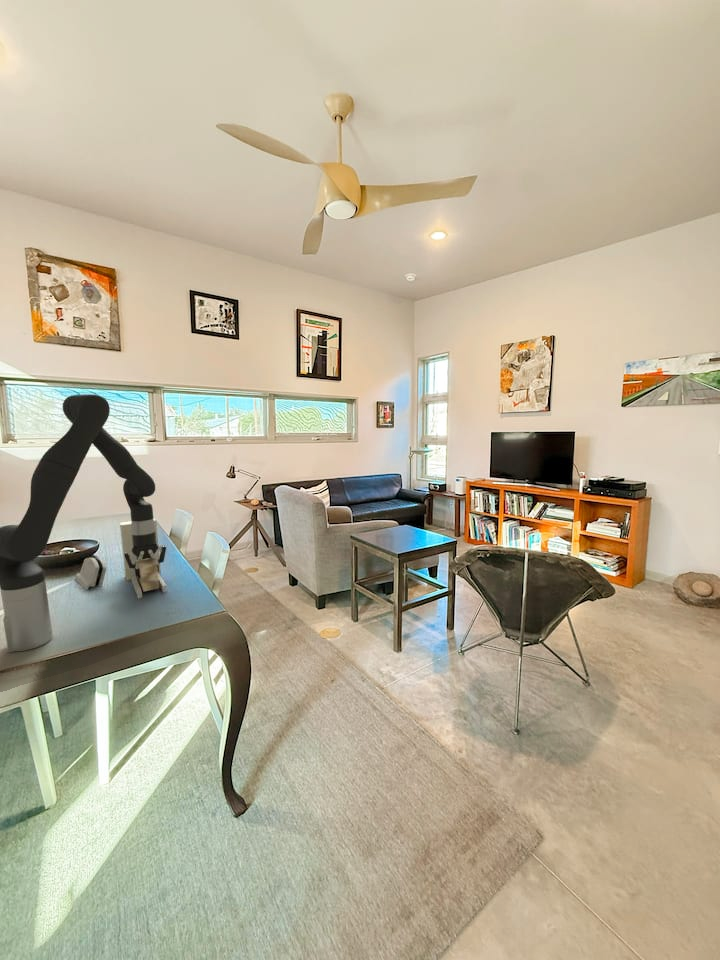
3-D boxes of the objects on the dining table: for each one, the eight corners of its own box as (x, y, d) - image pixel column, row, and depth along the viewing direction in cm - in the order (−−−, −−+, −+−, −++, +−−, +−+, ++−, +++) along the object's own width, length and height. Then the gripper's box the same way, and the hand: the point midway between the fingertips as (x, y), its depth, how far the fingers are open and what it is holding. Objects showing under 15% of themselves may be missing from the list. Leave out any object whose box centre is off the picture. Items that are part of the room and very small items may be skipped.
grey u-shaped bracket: (133, 599, 133) (127, 538, 130) (125, 576, 153) (119, 522, 150) (171, 590, 140) (166, 531, 137) (158, 569, 161) (154, 518, 157)
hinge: (74, 578, 152) (82, 553, 153) (88, 579, 155) (95, 554, 156) (86, 590, 141) (94, 563, 142) (101, 590, 144) (108, 564, 145)
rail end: (143, 591, 136) (141, 567, 135) (137, 578, 148) (135, 556, 146) (159, 588, 139) (157, 564, 138) (152, 575, 151) (150, 553, 149)
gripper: (121, 537, 133) (126, 584, 136) (167, 530, 142) (170, 574, 144) (119, 532, 139) (124, 577, 142) (163, 526, 148) (166, 568, 150)
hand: (147, 575), depth 143 cm, fingers closed on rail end, 5 cm apart
